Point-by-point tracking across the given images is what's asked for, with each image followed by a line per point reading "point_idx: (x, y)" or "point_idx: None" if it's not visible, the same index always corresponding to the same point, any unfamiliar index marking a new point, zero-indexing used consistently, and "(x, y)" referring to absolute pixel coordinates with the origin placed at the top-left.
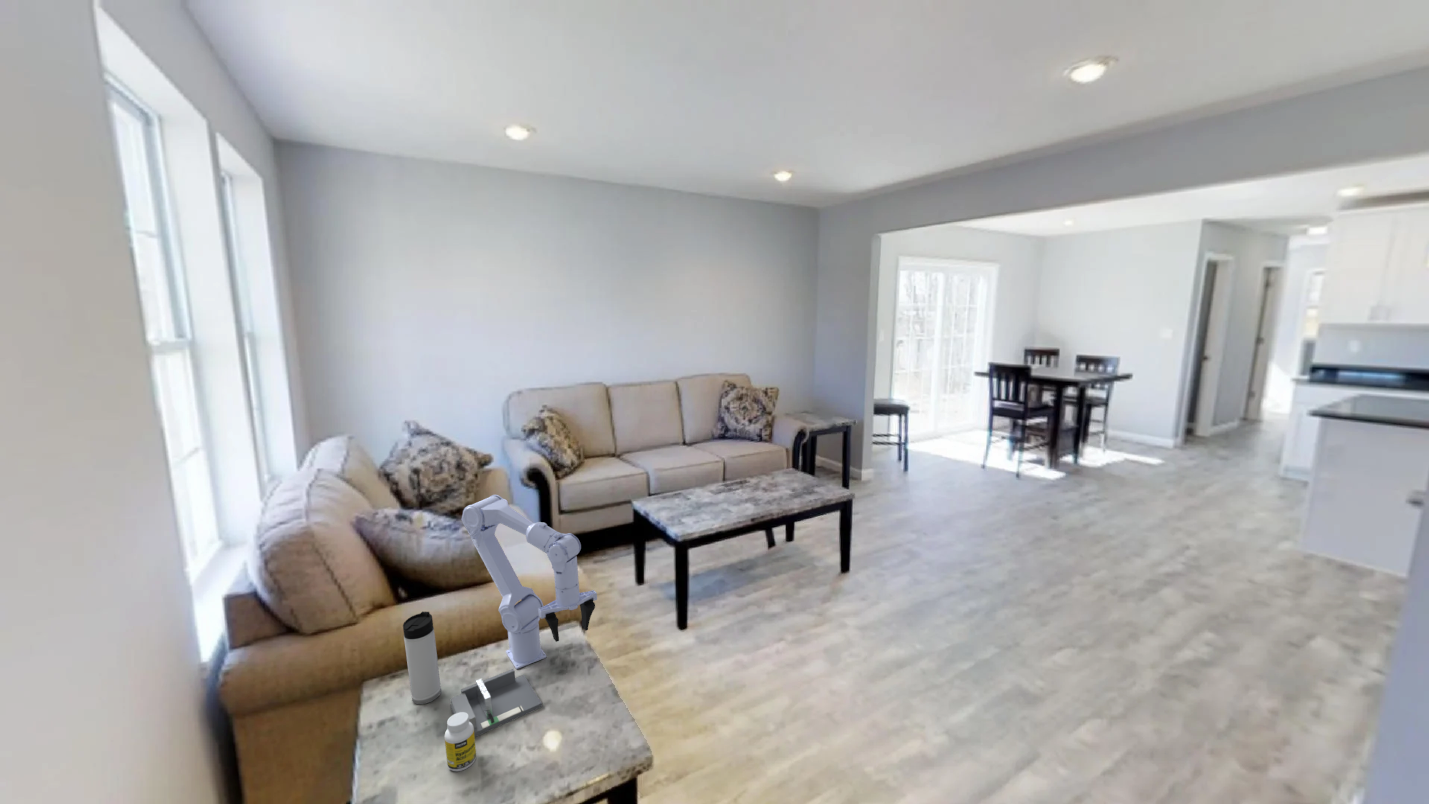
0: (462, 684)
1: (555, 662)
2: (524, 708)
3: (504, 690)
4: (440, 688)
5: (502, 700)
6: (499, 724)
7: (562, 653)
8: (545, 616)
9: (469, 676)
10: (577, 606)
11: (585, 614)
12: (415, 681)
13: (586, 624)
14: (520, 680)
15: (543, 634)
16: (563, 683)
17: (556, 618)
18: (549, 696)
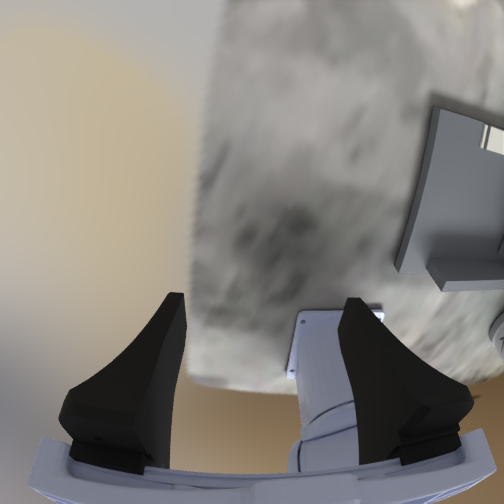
0: (469, 321)
1: (290, 277)
2: (478, 131)
3: (463, 243)
4: (501, 324)
5: (487, 209)
6: None
7: (250, 302)
8: (462, 440)
9: (447, 337)
10: (262, 499)
11: (158, 379)
12: None
13: (170, 317)
14: (419, 255)
15: (253, 385)
16: (328, 160)
17: (427, 416)
18: (395, 133)
